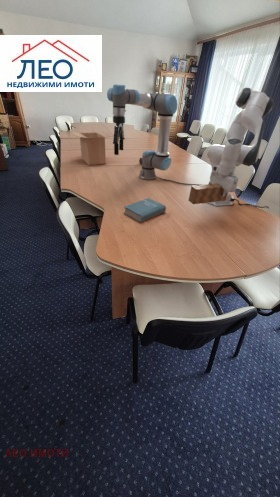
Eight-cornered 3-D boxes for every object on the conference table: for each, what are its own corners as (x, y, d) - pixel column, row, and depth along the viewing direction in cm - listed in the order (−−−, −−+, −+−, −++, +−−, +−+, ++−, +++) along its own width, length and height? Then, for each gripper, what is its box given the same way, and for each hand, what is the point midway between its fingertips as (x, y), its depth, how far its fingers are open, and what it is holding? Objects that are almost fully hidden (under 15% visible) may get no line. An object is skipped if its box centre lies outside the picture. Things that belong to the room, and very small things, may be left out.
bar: (193, 204, 128) (196, 189, 123) (188, 200, 132) (191, 185, 127) (225, 200, 136) (229, 186, 130) (219, 197, 140) (223, 183, 134)
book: (148, 204, 158) (148, 197, 155) (165, 212, 149) (166, 206, 146) (124, 213, 145) (124, 206, 142) (141, 223, 136) (141, 216, 133)
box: (116, 165, 229) (116, 136, 213) (83, 168, 214) (80, 137, 198) (102, 154, 259) (101, 128, 243) (71, 156, 244) (68, 129, 228)
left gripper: (120, 118, 125) (120, 157, 138) (129, 114, 145) (128, 148, 158) (107, 117, 126) (108, 156, 139) (118, 113, 146) (117, 147, 158)
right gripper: (243, 176, 119) (235, 200, 128) (219, 165, 134) (213, 187, 143) (233, 176, 117) (226, 201, 126) (211, 165, 132) (205, 187, 141)
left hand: (118, 152), depth 148 cm, fingers open, 13 cm apart
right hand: (219, 193), depth 134 cm, fingers closed on bar, 5 cm apart
